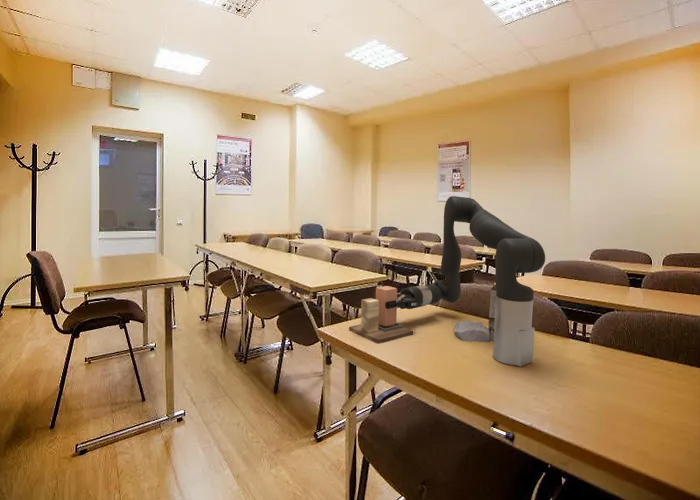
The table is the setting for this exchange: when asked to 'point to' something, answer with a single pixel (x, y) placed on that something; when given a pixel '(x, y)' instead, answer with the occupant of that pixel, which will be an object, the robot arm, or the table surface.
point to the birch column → (369, 315)
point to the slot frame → (391, 327)
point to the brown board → (382, 333)
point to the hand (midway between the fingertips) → (380, 303)
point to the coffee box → (492, 312)
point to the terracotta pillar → (384, 296)
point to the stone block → (472, 331)
